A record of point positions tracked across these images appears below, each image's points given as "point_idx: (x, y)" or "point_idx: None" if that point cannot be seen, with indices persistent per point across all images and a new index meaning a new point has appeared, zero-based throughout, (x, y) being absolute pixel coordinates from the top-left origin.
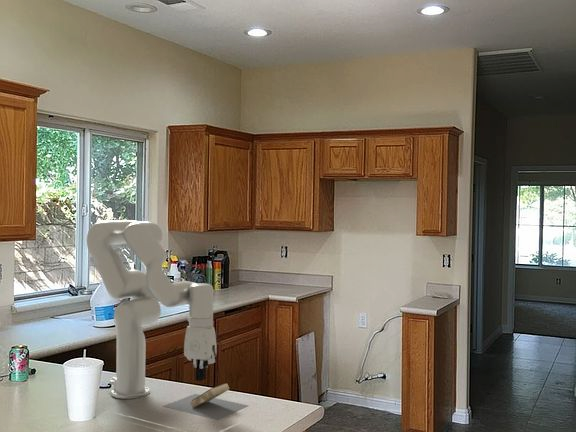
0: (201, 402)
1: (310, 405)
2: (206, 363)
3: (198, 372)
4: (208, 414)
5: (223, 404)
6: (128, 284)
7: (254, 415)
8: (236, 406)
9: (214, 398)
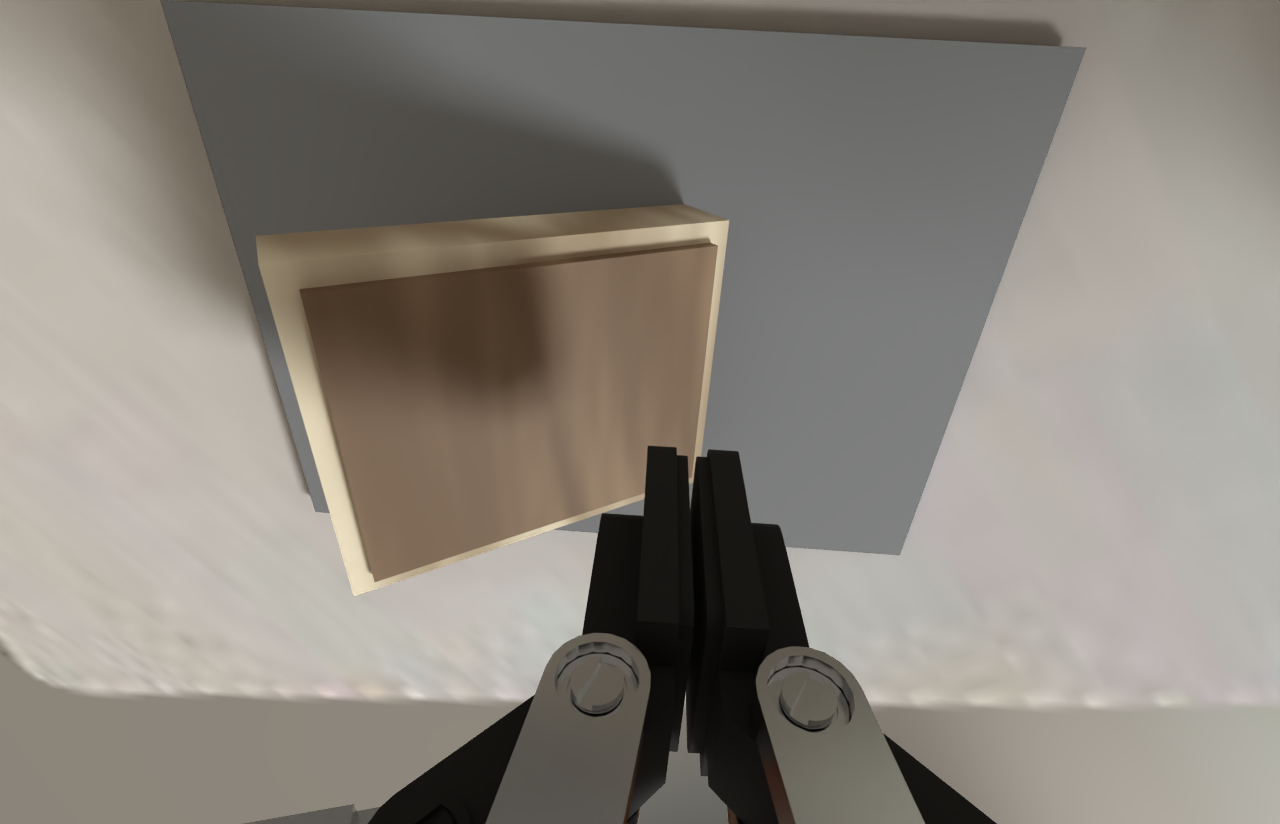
0: (539, 215)
1: (90, 682)
2: (395, 811)
3: (670, 551)
4: (389, 110)
5: None
6: None
7: (130, 375)
8: None
9: None
